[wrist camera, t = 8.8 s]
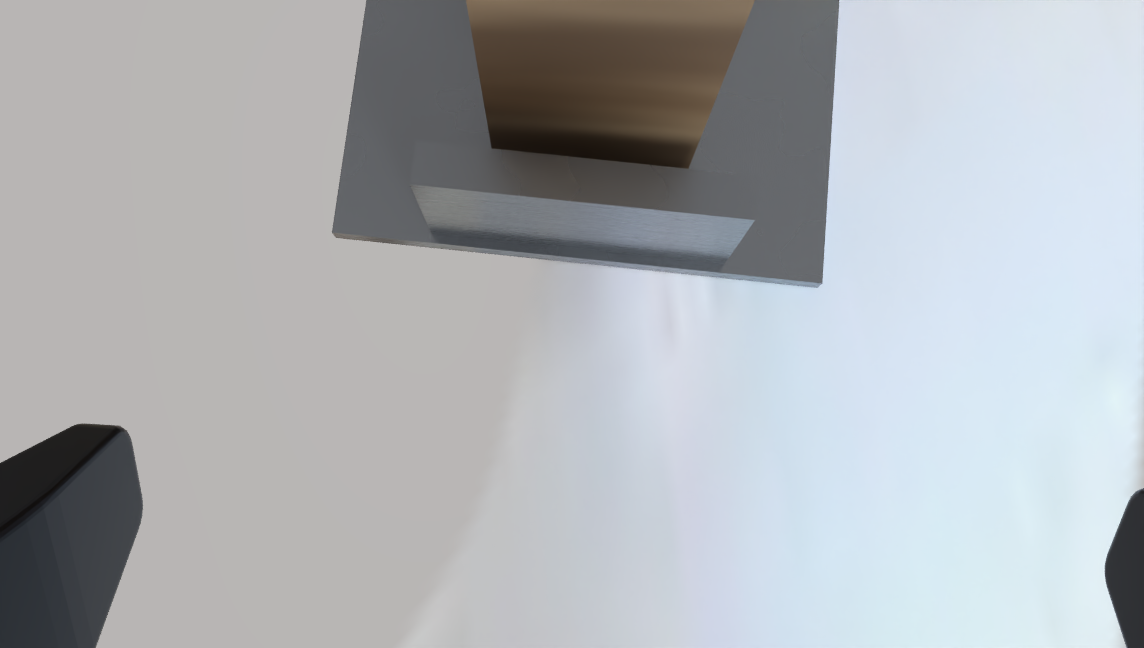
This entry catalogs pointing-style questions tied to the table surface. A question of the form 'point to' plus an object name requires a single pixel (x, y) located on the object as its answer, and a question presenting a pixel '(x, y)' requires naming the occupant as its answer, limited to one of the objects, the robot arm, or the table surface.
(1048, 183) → the table surface
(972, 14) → the table surface
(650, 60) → the brown wooden block
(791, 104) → the clip
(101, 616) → the robot arm
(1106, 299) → the table surface
